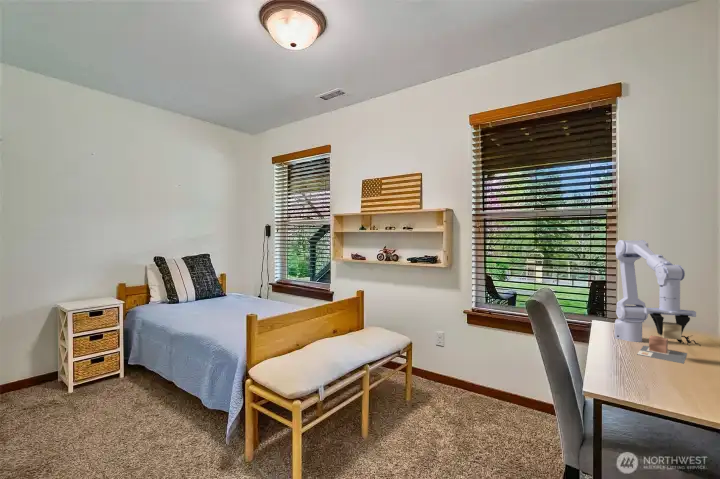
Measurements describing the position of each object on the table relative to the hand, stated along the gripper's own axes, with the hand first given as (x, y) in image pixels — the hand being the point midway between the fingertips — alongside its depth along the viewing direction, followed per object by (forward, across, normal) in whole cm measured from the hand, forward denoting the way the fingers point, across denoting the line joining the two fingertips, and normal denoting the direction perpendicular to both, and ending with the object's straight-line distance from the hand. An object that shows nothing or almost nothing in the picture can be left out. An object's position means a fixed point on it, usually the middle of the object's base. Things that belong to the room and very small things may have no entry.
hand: (669, 334), depth 127 cm
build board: (+9, 0, +4) cm, 10 cm away
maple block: (+1, 0, 0) cm, 1 cm away
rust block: (+9, 0, +9) cm, 12 cm away
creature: (+10, +16, +24) cm, 31 cm away
